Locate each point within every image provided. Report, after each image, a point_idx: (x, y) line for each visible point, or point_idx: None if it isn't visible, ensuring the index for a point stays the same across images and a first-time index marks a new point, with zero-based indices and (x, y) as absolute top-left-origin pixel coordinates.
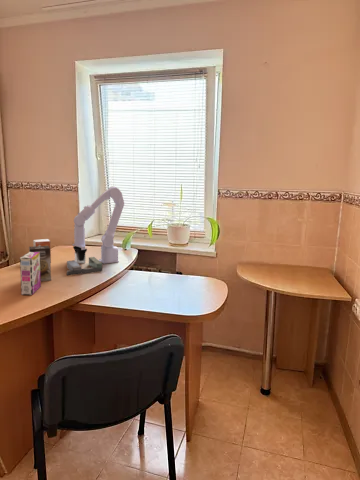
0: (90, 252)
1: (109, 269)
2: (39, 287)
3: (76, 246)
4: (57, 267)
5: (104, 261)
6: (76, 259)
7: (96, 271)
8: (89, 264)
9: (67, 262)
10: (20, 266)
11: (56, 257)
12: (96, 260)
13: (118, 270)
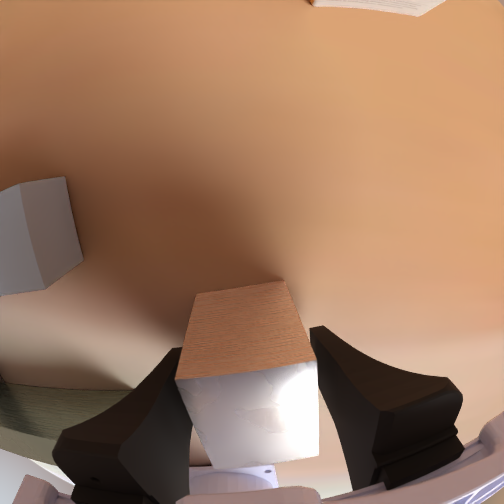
0: (496, 387)
1: None
2: None
3: (390, 458)
4: (99, 69)
5: (189, 482)
6: (196, 321)
7: None
8: (115, 397)
9: (7, 190)
10: None
11: (500, 119)
12: (27, 449)
13: (42, 464)
